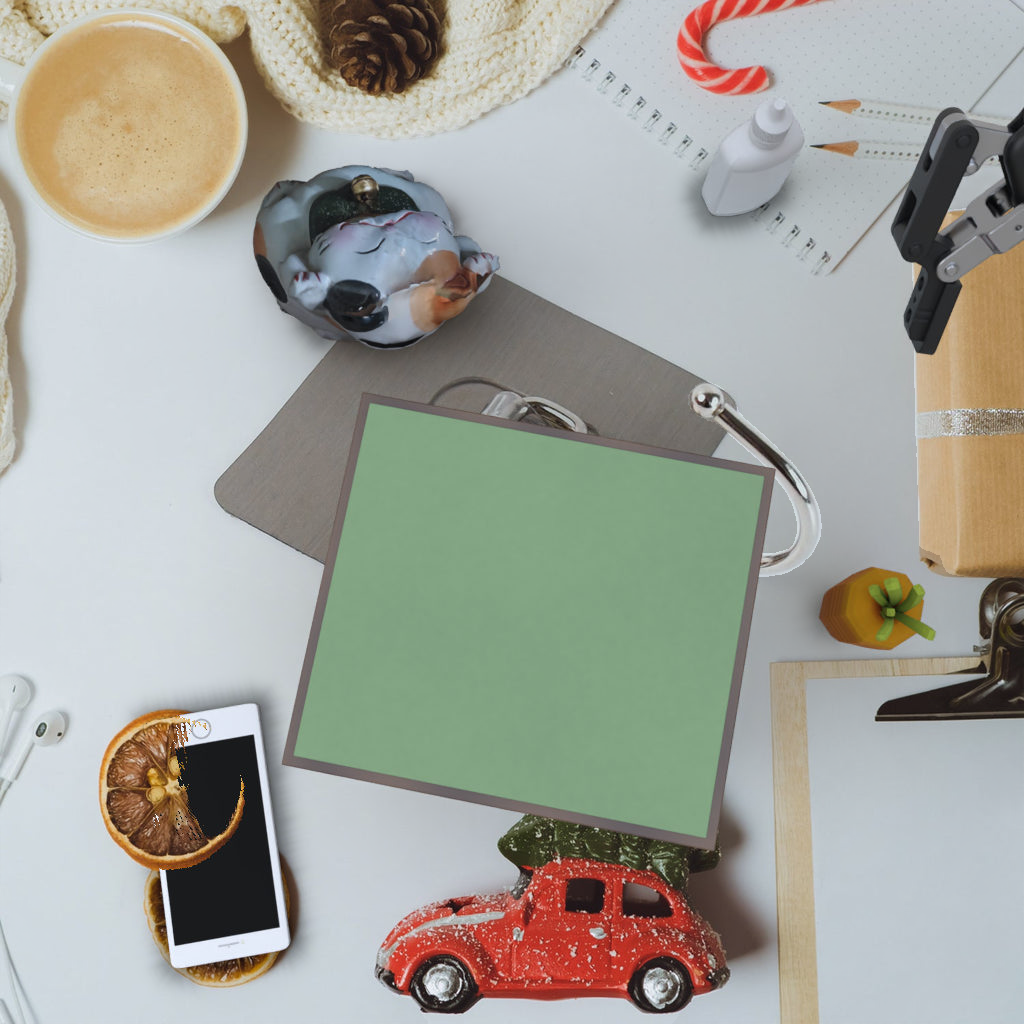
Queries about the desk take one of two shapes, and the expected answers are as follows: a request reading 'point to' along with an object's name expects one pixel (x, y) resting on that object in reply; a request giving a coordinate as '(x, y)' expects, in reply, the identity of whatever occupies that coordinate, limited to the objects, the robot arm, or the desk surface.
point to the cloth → (533, 619)
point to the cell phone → (226, 846)
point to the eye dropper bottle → (753, 160)
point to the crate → (501, 802)
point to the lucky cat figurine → (367, 256)
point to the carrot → (875, 610)
